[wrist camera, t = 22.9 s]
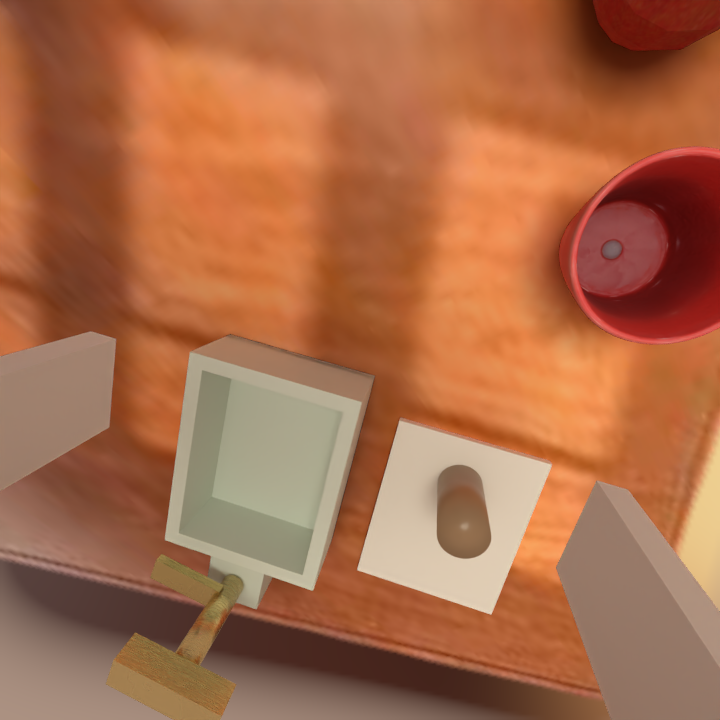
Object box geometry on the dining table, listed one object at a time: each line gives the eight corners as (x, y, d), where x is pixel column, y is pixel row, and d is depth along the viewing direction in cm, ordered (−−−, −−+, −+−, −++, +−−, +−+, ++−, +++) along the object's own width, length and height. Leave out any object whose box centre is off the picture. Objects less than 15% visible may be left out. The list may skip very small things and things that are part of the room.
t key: (268, 614, 40) (210, 739, 30) (164, 562, 40) (73, 667, 30) (277, 595, 39) (221, 716, 29) (171, 542, 40) (80, 642, 30)
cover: (359, 561, 46) (341, 631, 38) (400, 415, 41) (390, 458, 33) (490, 604, 44) (500, 686, 36) (548, 458, 40) (576, 514, 31)
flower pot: (507, 244, 35) (531, 244, 26) (635, 141, 32) (713, 99, 23) (588, 345, 36) (639, 380, 27) (720, 255, 33) (829, 259, 24)
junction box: (199, 529, 48) (160, 575, 41) (230, 334, 41) (189, 351, 35) (323, 571, 46) (303, 626, 40) (375, 375, 40) (361, 402, 33)
